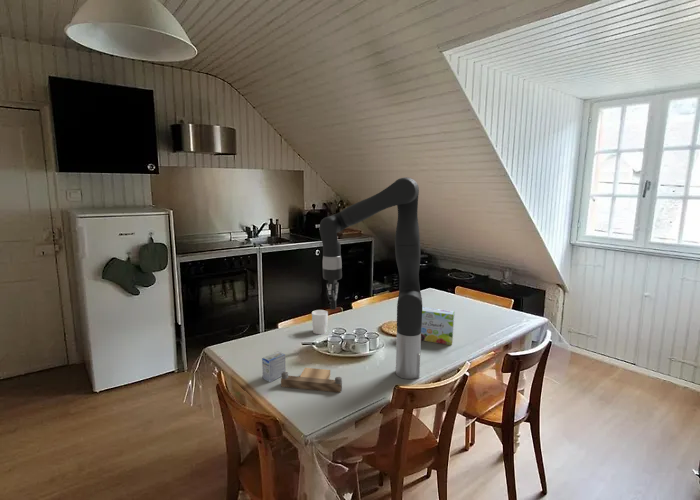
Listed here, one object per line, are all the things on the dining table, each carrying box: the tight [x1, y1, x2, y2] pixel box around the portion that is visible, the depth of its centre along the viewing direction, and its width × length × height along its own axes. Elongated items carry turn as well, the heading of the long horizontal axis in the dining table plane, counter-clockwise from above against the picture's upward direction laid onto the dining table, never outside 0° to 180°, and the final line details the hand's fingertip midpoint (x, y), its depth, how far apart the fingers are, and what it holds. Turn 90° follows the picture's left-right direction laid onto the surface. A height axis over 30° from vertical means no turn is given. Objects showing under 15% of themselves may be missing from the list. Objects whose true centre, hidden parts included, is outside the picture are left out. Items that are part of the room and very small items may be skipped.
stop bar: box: [280, 371, 343, 393], centre depth 147 cm, size 22×3×4 cm, turn 80°
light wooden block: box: [299, 367, 331, 379], centre depth 152 cm, size 10×8×3 cm
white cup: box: [311, 309, 329, 335], centre depth 198 cm, size 8×8×10 cm
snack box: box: [421, 306, 455, 346], centre depth 189 cm, size 21×6×15 cm, turn 70°
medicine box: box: [261, 351, 287, 383], centre depth 154 cm, size 8×4×9 cm, turn 141°
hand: (333, 308), depth 162 cm, fingers closed
